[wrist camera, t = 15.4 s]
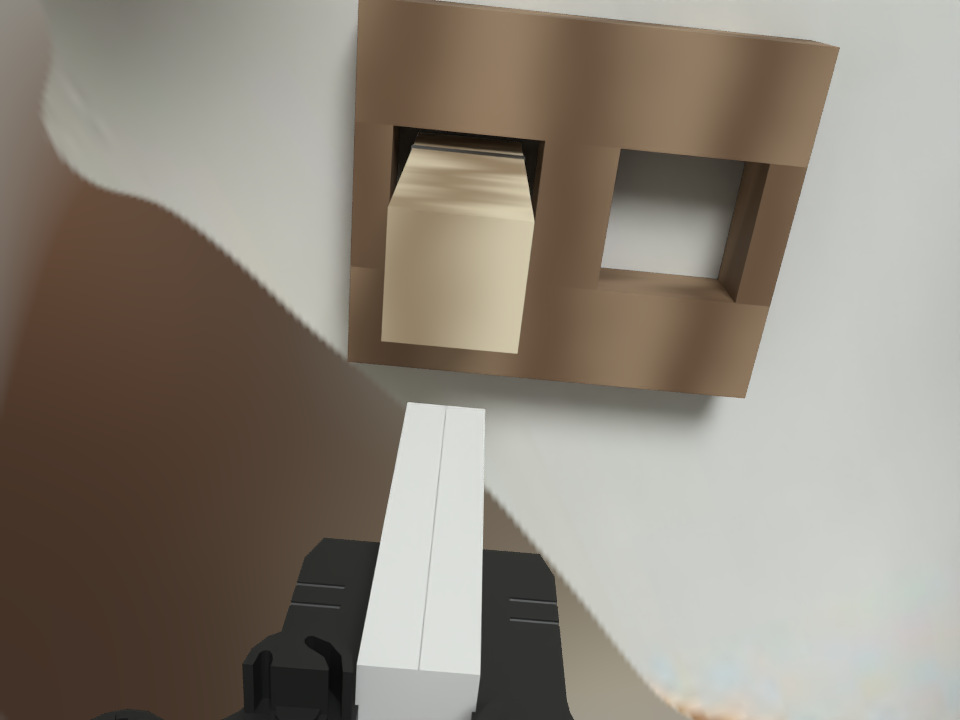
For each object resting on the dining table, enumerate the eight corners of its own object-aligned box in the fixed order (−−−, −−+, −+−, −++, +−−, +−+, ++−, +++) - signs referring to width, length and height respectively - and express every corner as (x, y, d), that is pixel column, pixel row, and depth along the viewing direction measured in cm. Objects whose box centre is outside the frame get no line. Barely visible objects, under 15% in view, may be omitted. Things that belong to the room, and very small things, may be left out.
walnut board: (811, 40, 34) (839, 47, 31) (727, 368, 40) (744, 398, 37) (369, -7, 33) (358, -4, 30) (357, 334, 40) (347, 361, 37)
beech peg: (522, 141, 35) (536, 220, 25) (510, 241, 37) (519, 355, 27) (417, 130, 35) (386, 205, 25) (411, 231, 37) (379, 342, 26)
